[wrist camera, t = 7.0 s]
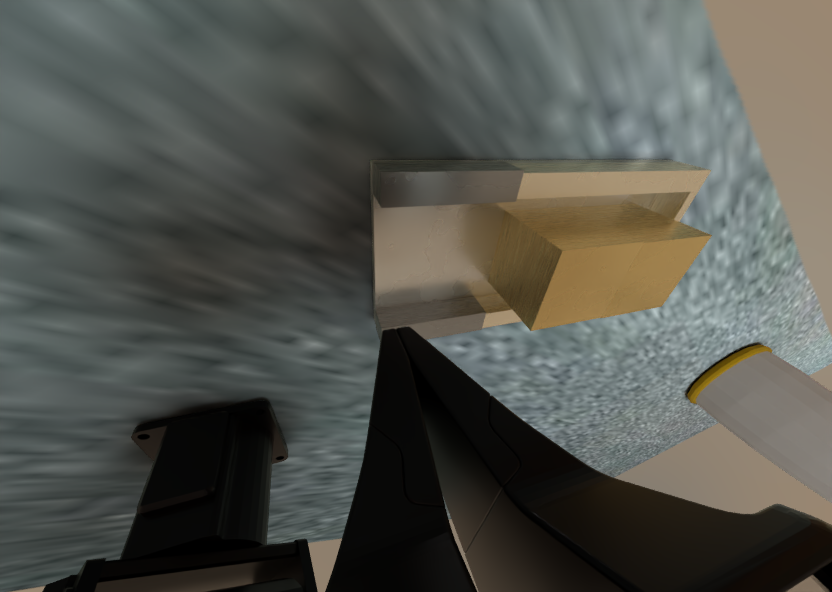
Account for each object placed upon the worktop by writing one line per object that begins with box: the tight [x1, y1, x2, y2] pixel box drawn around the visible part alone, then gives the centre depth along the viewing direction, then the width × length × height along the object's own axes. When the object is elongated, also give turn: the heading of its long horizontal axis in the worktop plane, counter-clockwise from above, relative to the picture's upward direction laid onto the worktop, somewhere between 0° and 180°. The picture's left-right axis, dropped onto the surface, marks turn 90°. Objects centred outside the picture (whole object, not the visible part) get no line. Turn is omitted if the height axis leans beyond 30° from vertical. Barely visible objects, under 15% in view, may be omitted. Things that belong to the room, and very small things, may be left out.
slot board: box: [370, 160, 711, 342], centre depth 15 cm, size 16×8×2 cm, turn 86°
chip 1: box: [488, 206, 644, 331], centre depth 14 cm, size 4×4×4 cm
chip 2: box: [577, 203, 712, 318], centre depth 15 cm, size 4×4×4 cm
